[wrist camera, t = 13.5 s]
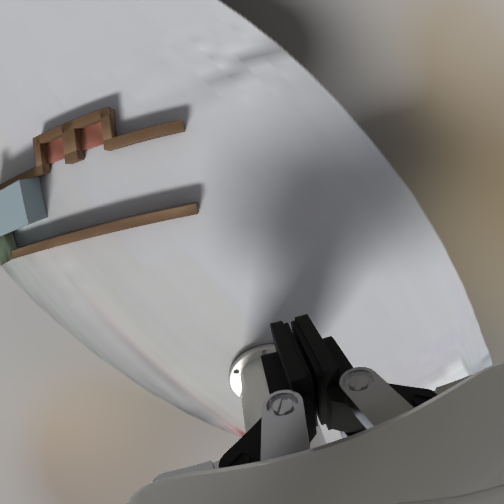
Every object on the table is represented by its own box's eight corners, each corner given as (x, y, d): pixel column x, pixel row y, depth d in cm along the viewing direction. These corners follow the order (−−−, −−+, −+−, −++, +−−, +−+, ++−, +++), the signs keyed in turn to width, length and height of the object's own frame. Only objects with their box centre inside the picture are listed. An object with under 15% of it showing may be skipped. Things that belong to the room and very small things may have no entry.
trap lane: (198, 211, 35) (195, 218, 30) (13, 256, 33) (-4, 266, 28) (179, 91, 30) (172, 80, 25) (-5, 163, 28) (-24, 164, 23)
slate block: (47, 217, 32) (28, 224, 27) (14, 230, 32) (-5, 238, 27) (39, 177, 30) (19, 179, 26) (6, 194, 30) (-14, 198, 25)
